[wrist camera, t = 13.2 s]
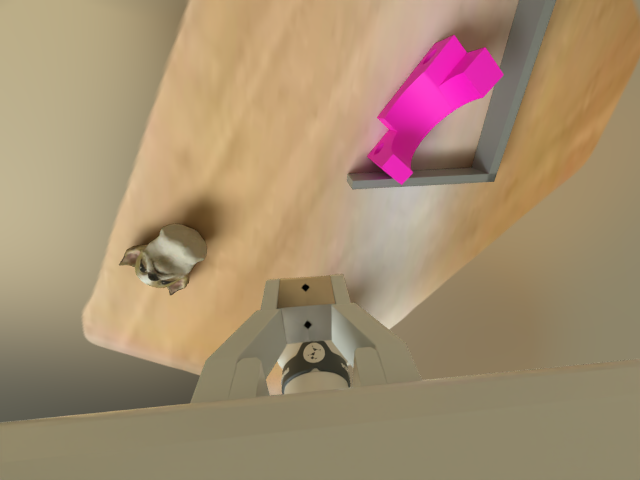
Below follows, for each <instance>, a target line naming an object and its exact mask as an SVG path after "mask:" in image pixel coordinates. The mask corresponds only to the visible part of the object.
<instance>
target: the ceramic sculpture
mask: <svg viewBox="0 0 640 480" xmlns="http://www.w3.org/2000/svg"><path fill="white" fill-rule="evenodd" d="M206 254H207V246H206V243H205V241H204V240H203V239H202V237H201V236H200V234H199V233H198V232H197V231H196V230H194V229H192V228H189V227H187V226H184V225H182V224H171V225H168V226H165V227H163V228H162V229H161V231H160V235H159V236H158V237H157V238H156V239H155V240H153V241H151V242H150V243H149V244H148V245H137V246H133V247H131V248H129V249H127V250H126V253H125V255H124V258H123V259H122V261H121V262H120V264H119V265H130V266H133V267H135V272H136V275H137V276H138V278H139V279H140V280H141V281H142V282H144V283H145V284H147V285H149V286H152V287H156V288H165V287H167V288H168V289H169V293H170V295H172V294H174V293H175V292H176V291H178V290H181V289H183V288H185V287H186V286H187V284H188V283H189V272H190V271H191V270H192V268H193V267H194V265H195V264H196V263H197V262H200V261H202V260H204V259H205V257H206Z"/></svg>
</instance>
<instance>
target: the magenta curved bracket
mask: <svg viewBox="0 0 640 480" xmlns="http://www.w3.org/2000/svg"><path fill="white" fill-rule="evenodd" d="M503 75H504V74H503V73H502V71H501V70H500V68H499V67H498V65H497V64H496V62H495V61H494V59H493V58H492V56H491V55H490V53H489V52H488V50H487V49H486V47H484V48H481V49H478V50H474V51H471V52H468V53H467V52H466V51H465V49H464V48H463V46H462V45H461V44H460V42H459V41H458V39H457V38H456V37H455V35H453V36H450V37H448V38H446V39H444V40H442V41H440V42H437V43H435V44H434V45H433V46H432V48H431V49H430V50H429V52H428V53H427V54H426V55H425V57H424V58H423V59H422V61H421V62H420V63H419V64H418V66H417V67H416V68H415V69H414V71H413V72H412V73H411V75H410V76H409V77H408V78H407V80H406V81H405V82H404V84H403V85H402V86H401V87H400V89H399V90H398V91H397V93H396V94H395V95H394V96H393V98H392V99H391V100H390V101H389V103H388V104H387V105H386V107H385V108H384V109H383V110H382V112H381V113H380V114H379V116H378V117H377V118H378V119H379V120H380V121H381V122H382V123H383V124H384V125H385V126H386V127H387V128H388V129H389V130H388V131H387V133H386V134H385V135H384V136H383V138H382V139H381V140H380V141H379V142H378V144H377V145H376V146H375V147H374V149H373V150H372V151H371V152H370V153H369V155H368V156H367V157H368V158H369V159H370V160H372V161H373V162H374V163H375V164H376V165H377V166H378V167H379V168H381V169H382V170H383V171H384V172H385V173H387V174H388V175H389V176H390V177H392V178H393V179H394V180H396V181H397V182H398V183H400V184H401V185H402V184H403V183H404V182H405V181H406V180H407V179H408V178H409V177H410V176H411V175H412V173H413V171H412V170H411V160H412V157H413V154H414V152H415V150H416V148H417V147H418V145H419V144H420V142H421V141H422V140H423V138H424V137H425V136H426V135H427V134H428V133H429V131H430V130H431V129H432V128H433V127H434V126H435V125H436V124H438V123H439V122H440V121H441V120H442V119H443V118H445V117H446V116H447V115H449V114H450V113H451V112H453V111H454V110H456V109H457V108H459V107H461V106H463V105H464V104H466V103H468V102H471V101H473V100H476V99H479V98H483V97H484V96H485V95H486V94H487V93H488V92H489V90H490V89H491V88H492V87H493V86H494V85H495V84H496V83H497V82H498V81H499V80H500V79H501V78H502V76H503Z"/></svg>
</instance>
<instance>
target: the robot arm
mask: <svg viewBox="0 0 640 480" xmlns="http://www.w3.org/2000/svg"><path fill="white" fill-rule="evenodd" d="M277 361H278V364H279V365H280V367H281V368H282V369H283V373H282V380H281V385H282V394H281V395H271V396H270V395H269V391H268V387H267V383H266V378H267V376H268V375H269V373H270V372H271V370H272V368H273V367H274V365H275V364H276V362H277ZM348 365H351V366H352V367H353V379H352V387H351V388H350V375H349V371H348V367H347V366H348ZM0 480H640V359H630V360H620V361H611V362H600V363H591V364H581V365H570V366H560V367H550V368H540V369H530V370H520V371H510V372H500V373H490V374H480V375H470V376H460V377H450V378H441V379H430V380H422V378H421V376H420V374H419V372H418V369H417V367H416V365H415V363H414V361H413V358H412V356H411V354H410V352H409V350H408V347H407V345H406V343H405V342H404V341H403V340H401V339H400V338H399V337H398V336H396V335H395V334H394V333H392V332H391V331H390V330H389V329H387V328H386V327H385V326H384V325H382V324H381V323H380V322H379V321H377V320H376V319H375V318H374V317H372V316H371V315H370V314H369V313H367V312H366V311H365V310H364V309H362V308H361V307H360V306H358V305H357V304H356V303H351V301H350V297H349V293H348V290H347V286H346V282H345V279H344V275H343V274H335V275H328V276H316V277H300V278H281V279H267V281H266V284H265V289H264V295H263V300H262V305H261V310H258V311H256V312H255V313H254V314H253V315H252V316H251V317H250V318H249V319H248V320H247V321H246V322H245V323H244V324H242V325H241V326H240V327H239V328H238V329H237V330H236V331H235V332H234V333H233V334H232V335H231V336H230V337H229V338H228V339H227V340H226V341H225V342H224V343H223V344H222V345H221V346H220V347H219V348H218V349H217V350H216V351H215V352H214V353H213V354H212V355H211V356H210V357H209V358H208V359H207V360H206V362H205V364H204V367H203V370H202V373H201V375H200V378H199V381H198V383H197V386H196V389H195V392H194V394H193V397H192V400H191V402H190V404H181V405H171V406H162V407H151V408H142V409H131V410H121V411H111V412H101V413H91V414H82V415H72V416H61V417H52V418H41V419H31V420H21V421H11V422H1V423H0Z"/></svg>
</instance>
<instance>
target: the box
mask: <svg viewBox="0 0 640 480" xmlns="http://www.w3.org/2000/svg"><path fill="white" fill-rule="evenodd" d="M555 2H556V0H519V3H518V6H517V10H516V13H515V17H514V20H513V24H512V27H511V31H510V34H509V38H508V41H507V45H506V48H505V52H504V55H503V59H502V62H501V66H500V70H501V71H502V73H503V74H504V75H503V76H502V78H501V79H500V80H499V81H498V82H497V83H496V84H495V87H494V90H493V94H492V97H491V101H490V104H489V108H488V111H487V115H486V118H485V122H484V125H483V129H482V132H481V136H480V139H479V143H478V146H477V150H476V153H475V157H474V160H473V164H472V167H471V168H453V169H433V170H413V173H412V175H411V176H410V177H409V178H408V179H407V180H406V181H405V182H404V183H403V184H402V185H401V184H400V183H398V182H397V181H396V180H394V179H393V178H392V177H390V176H389V175H388V174H387V173H385V172H374V173H354V174H347V182H348V183H349V185H350V187H351V188H352V189H367V188H386V187H404V186H423V185H441V184H460V183H478V182H494V180H495V177H496V174H497V171H498V168H499V166H500V163H501V160H502V157H503V154H504V151H505V148H506V145H507V142H508V139H509V136H510V133H511V131H512V128H513V125H514V122H515V119H516V116H517V113H518V110H519V107H520V104H521V101H522V98H523V96H524V93H525V90H526V87H527V84H528V81H529V78H530V75H531V72H532V69H533V66H534V63H535V61H536V58H537V55H538V52H539V49H540V46H541V43H542V40H543V37H544V34H545V31H546V28H547V26H548V23H549V20H550V17H551V14H552V11H553V8H554V5H555Z"/></svg>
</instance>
